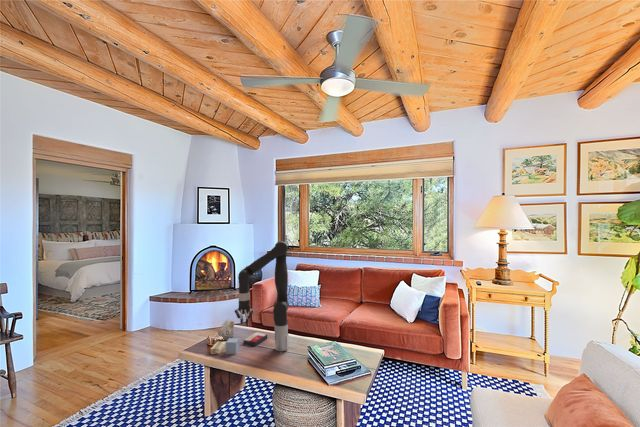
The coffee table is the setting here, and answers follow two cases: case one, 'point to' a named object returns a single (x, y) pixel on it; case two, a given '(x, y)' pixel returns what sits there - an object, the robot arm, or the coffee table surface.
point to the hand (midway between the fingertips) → (244, 324)
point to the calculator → (255, 339)
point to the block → (232, 346)
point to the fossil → (227, 330)
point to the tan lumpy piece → (218, 347)
